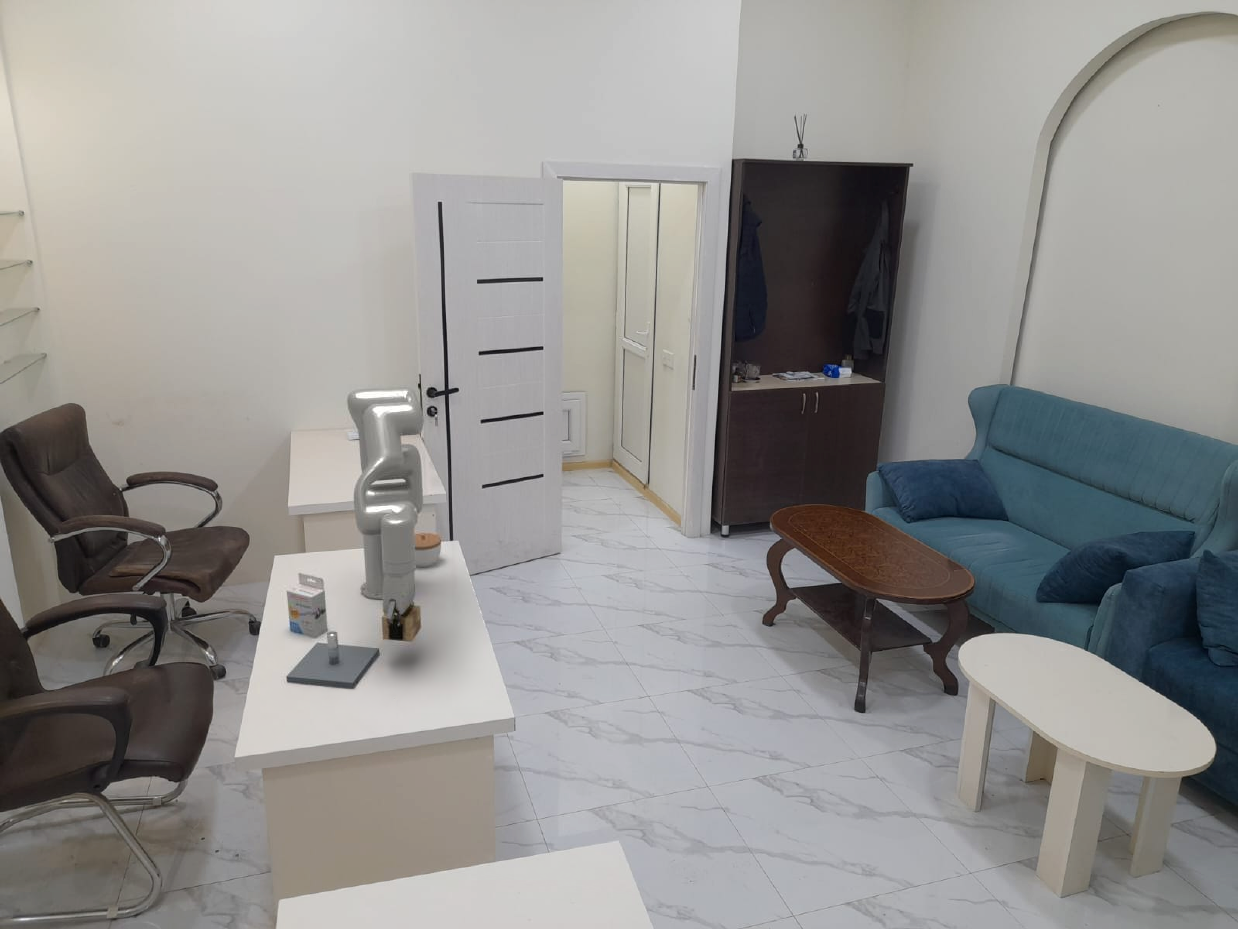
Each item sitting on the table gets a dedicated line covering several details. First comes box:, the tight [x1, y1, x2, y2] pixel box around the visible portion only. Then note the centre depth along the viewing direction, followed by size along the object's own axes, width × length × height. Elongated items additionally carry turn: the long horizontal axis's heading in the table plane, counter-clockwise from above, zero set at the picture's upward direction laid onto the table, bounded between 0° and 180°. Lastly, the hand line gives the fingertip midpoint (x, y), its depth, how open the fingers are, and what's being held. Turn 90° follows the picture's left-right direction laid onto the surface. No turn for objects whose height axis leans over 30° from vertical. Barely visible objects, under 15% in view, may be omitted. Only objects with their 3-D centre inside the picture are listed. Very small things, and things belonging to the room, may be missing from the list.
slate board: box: [285, 642, 380, 689], centre depth 212 cm, size 16×16×2 cm
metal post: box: [326, 631, 339, 665], centre depth 211 cm, size 2×2×8 cm
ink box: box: [286, 572, 328, 639], centre depth 227 cm, size 8×5×15 cm, turn 67°
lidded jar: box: [414, 532, 442, 568], centre depth 269 cm, size 11×11×9 cm
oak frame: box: [381, 604, 422, 643], centre depth 214 cm, size 7×7×6 cm
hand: (402, 630), depth 215 cm, fingers closed on oak frame, 7 cm apart
